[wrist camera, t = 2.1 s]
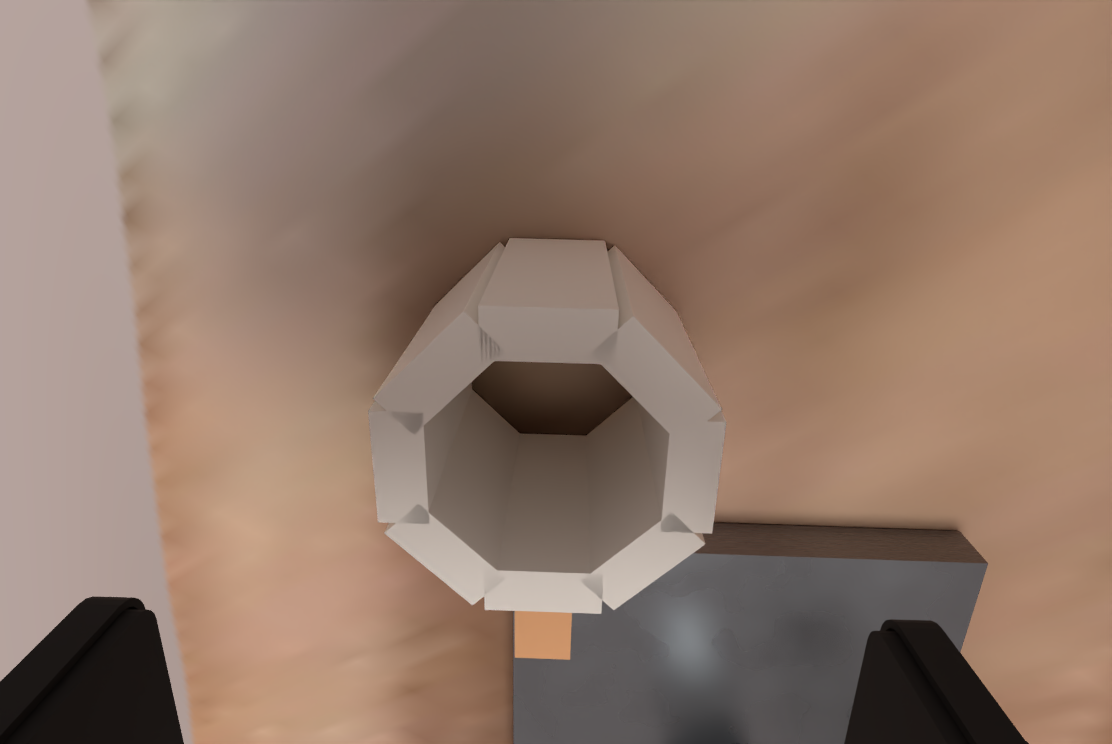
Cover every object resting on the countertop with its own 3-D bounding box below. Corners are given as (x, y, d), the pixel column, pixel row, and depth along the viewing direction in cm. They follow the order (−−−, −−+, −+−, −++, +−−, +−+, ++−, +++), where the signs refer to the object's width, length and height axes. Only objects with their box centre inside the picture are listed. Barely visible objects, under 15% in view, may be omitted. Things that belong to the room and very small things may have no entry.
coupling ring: (428, 236, 17) (358, 301, 12) (686, 242, 17) (740, 313, 12) (441, 504, 20) (390, 660, 15) (661, 512, 20) (694, 671, 15)
